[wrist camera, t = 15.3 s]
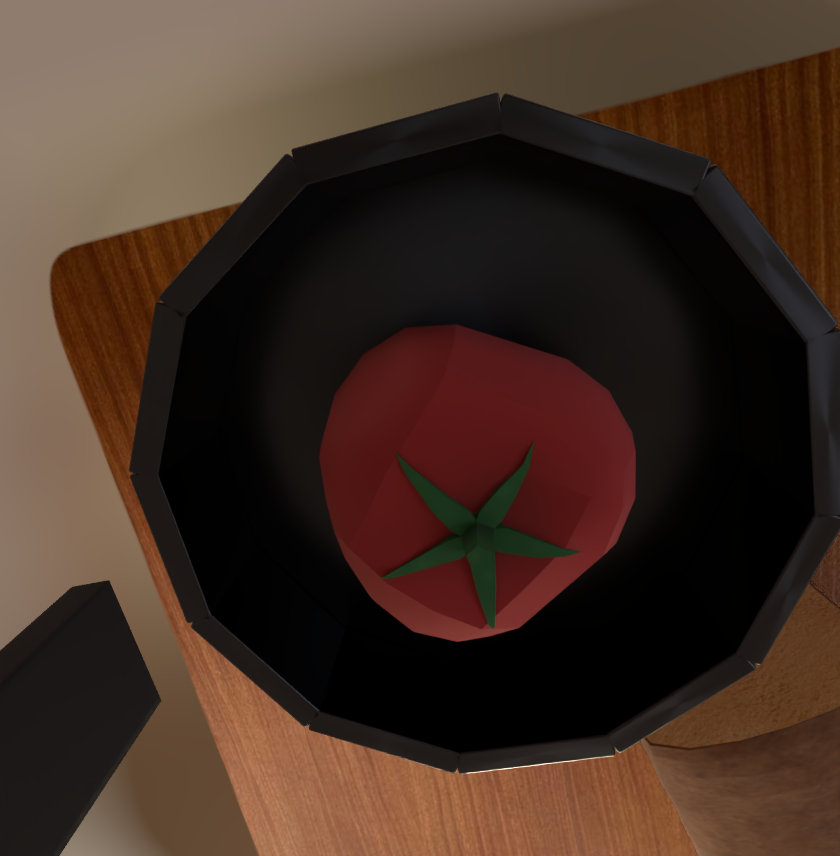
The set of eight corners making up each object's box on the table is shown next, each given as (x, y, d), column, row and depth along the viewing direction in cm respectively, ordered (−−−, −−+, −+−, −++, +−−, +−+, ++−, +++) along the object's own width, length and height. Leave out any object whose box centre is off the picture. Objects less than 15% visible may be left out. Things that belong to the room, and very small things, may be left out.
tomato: (644, 388, 18) (754, 477, 11) (512, 590, 20) (535, 767, 13) (407, 263, 17) (368, 276, 11) (300, 486, 20) (212, 615, 13)
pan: (331, 236, 45) (28, 221, 14) (737, 134, 41) (1587, -210, 10) (387, 452, 50) (255, 800, 19) (756, 378, 46) (1372, 666, 15)
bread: (800, 550, 50) (949, 687, 34) (901, 805, 57) (1064, 1014, 41) (595, 629, 53) (648, 784, 38) (714, 859, 60) (799, 1070, 45)
